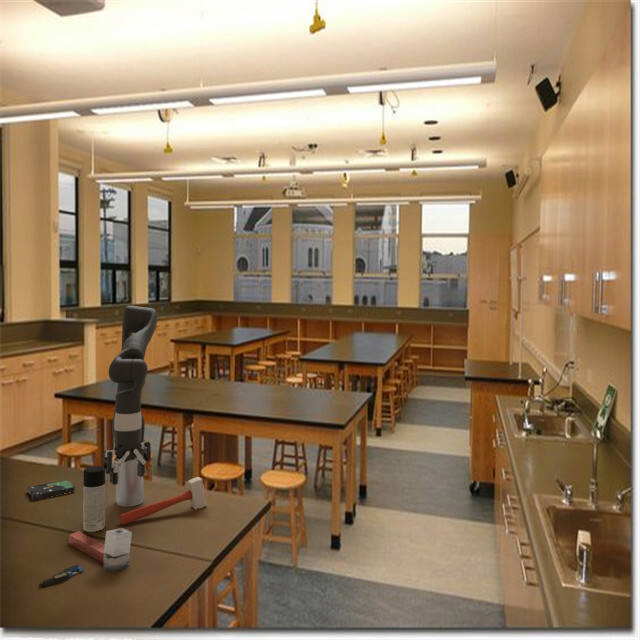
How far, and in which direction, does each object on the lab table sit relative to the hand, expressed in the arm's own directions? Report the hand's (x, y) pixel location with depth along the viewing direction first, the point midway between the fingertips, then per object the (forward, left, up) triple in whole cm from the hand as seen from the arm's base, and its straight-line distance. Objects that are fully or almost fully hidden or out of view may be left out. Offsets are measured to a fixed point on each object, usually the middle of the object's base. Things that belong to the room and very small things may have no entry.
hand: (127, 480), depth 160 cm
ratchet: (-7, -6, -23) cm, 24 cm away
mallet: (-15, +25, -23) cm, 37 cm away
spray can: (-24, +3, -23) cm, 33 cm away
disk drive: (-65, +10, -23) cm, 70 cm away
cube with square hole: (+3, -6, -19) cm, 20 cm away
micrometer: (-3, -19, -23) cm, 30 cm away
